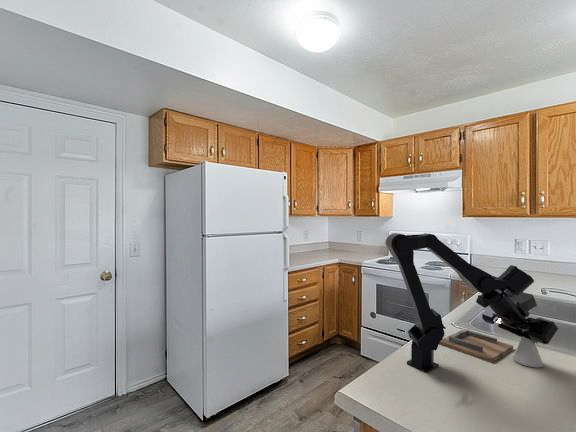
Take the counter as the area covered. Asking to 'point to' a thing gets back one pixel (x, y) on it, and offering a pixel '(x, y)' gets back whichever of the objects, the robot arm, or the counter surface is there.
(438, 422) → the counter surface
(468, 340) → the board
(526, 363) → the flask
